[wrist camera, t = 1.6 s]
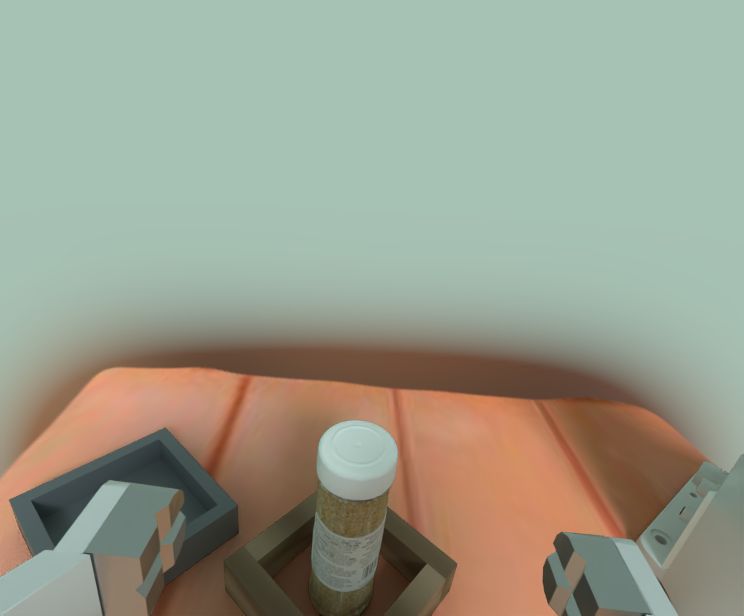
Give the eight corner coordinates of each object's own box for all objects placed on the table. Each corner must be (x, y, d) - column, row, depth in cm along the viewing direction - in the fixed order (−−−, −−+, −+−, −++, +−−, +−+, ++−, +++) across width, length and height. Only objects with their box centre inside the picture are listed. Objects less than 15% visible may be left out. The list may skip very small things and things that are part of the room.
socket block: (340, 496, 38) (343, 471, 36) (449, 590, 31) (457, 563, 30) (225, 589, 30) (223, 561, 28) (339, 737, 24) (344, 710, 22)
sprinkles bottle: (342, 546, 33) (359, 406, 28) (386, 592, 31) (416, 447, 25) (293, 588, 30) (301, 439, 24) (337, 642, 28) (358, 490, 22)
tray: (168, 453, 40) (165, 427, 38) (238, 532, 34) (237, 505, 32) (19, 528, 32) (8, 499, 31) (75, 649, 26) (65, 620, 24)
